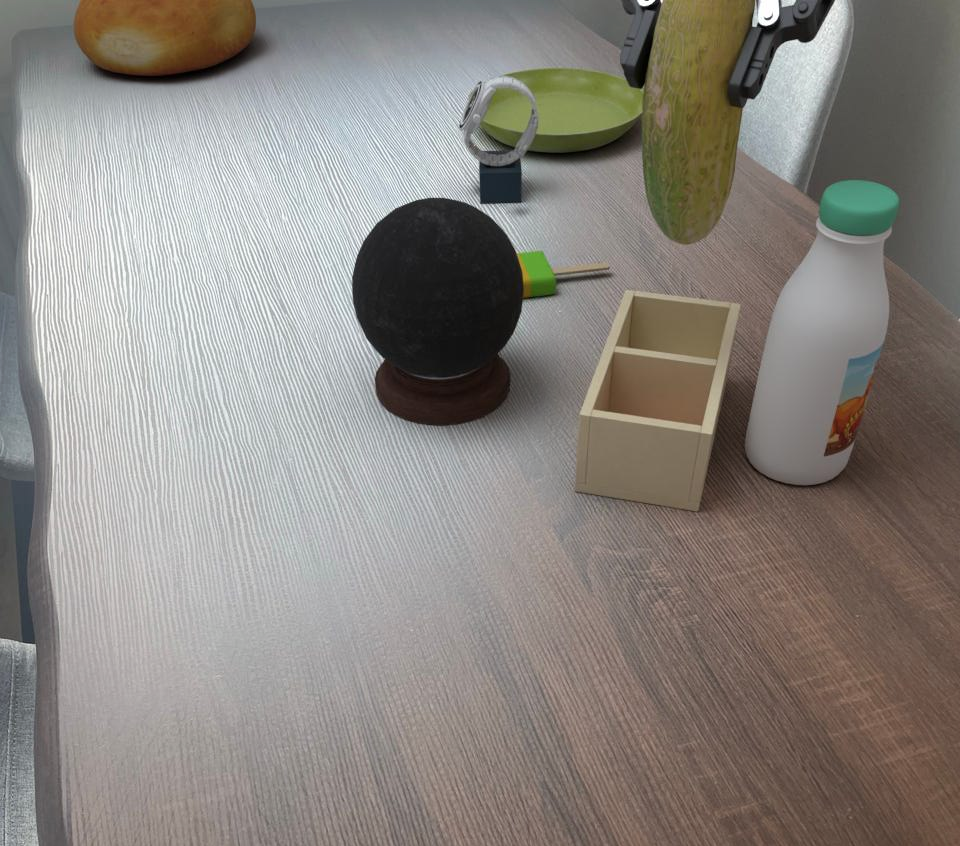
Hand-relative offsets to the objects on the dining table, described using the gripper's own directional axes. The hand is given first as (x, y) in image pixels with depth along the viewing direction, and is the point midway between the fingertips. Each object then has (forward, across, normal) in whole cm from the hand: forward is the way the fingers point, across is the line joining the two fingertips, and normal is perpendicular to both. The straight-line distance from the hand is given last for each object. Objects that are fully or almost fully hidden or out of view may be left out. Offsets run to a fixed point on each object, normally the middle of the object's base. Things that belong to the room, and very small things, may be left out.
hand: (682, 90), depth 61 cm
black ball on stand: (+19, +17, -16) cm, 31 cm away
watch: (-4, +32, -40) cm, 51 cm away
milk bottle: (+16, -11, -20) cm, 28 cm away
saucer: (-17, +34, -53) cm, 65 cm away
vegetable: (+6, 0, -9) cm, 11 cm away
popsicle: (+6, +19, -29) cm, 36 cm away
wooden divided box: (+17, -1, -18) cm, 25 cm away
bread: (-15, +92, -50) cm, 106 cm away
